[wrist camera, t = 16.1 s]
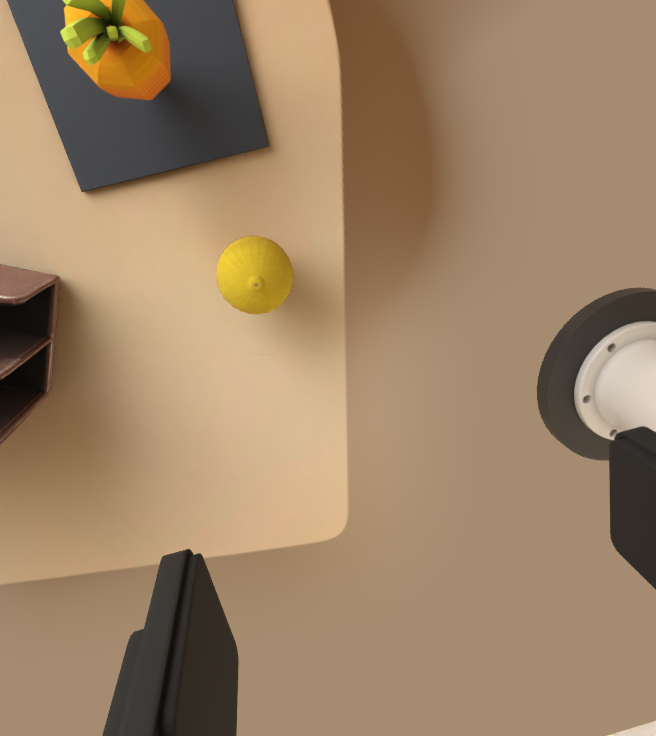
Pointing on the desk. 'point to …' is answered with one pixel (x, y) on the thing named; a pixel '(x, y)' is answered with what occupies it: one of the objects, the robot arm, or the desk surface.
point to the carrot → (119, 46)
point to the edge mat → (166, 110)
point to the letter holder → (25, 342)
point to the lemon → (254, 275)
